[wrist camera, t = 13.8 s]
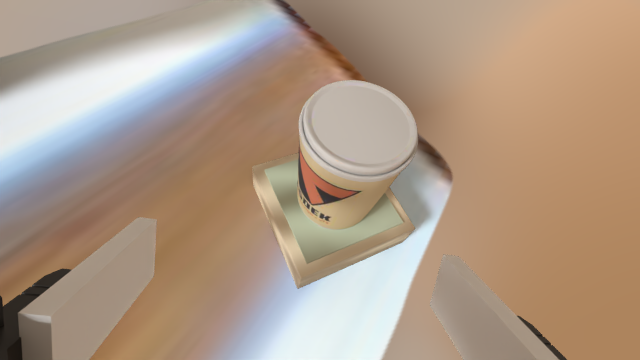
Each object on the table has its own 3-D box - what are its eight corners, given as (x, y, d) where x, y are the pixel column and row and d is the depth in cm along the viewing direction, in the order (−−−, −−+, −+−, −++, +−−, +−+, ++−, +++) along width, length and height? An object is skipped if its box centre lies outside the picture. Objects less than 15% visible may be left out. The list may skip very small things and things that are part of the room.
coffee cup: (272, 181, 36) (276, 99, 26) (343, 147, 40) (371, 64, 29) (321, 255, 33) (349, 194, 22) (394, 211, 36) (446, 141, 26)
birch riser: (253, 185, 40) (252, 164, 37) (349, 154, 45) (356, 133, 41) (297, 288, 35) (301, 277, 31) (402, 242, 39) (416, 227, 36)
